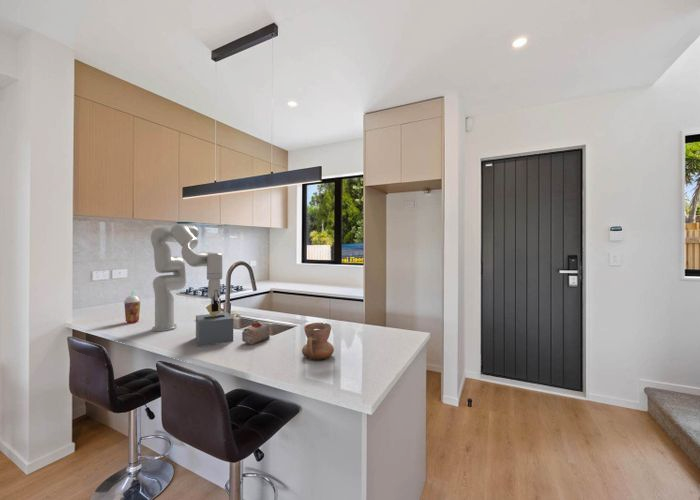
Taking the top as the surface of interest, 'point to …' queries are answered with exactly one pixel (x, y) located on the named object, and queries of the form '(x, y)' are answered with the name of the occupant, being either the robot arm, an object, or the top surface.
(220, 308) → the yellow square slab
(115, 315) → the top surface
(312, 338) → the ceramic jug
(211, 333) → the money box
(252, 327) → the food item
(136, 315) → the smoothie
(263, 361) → the top surface
